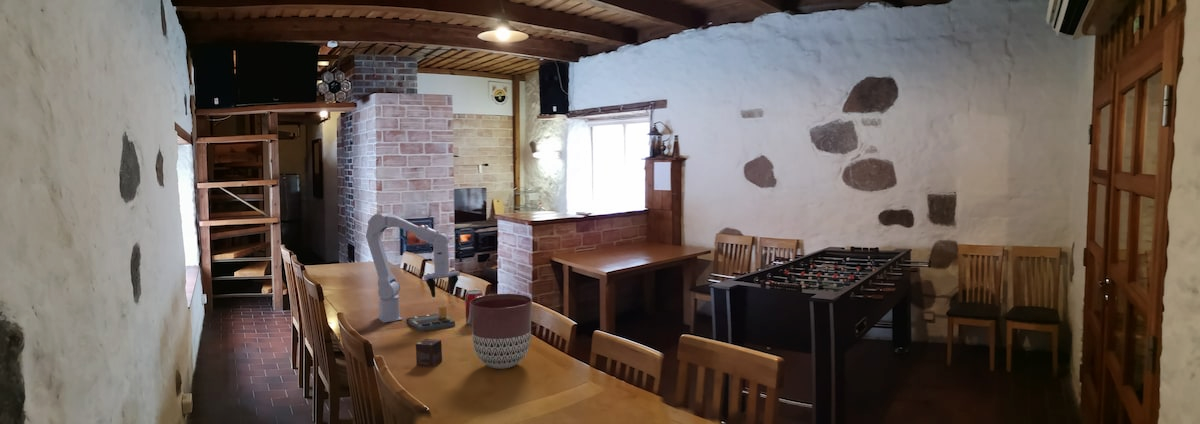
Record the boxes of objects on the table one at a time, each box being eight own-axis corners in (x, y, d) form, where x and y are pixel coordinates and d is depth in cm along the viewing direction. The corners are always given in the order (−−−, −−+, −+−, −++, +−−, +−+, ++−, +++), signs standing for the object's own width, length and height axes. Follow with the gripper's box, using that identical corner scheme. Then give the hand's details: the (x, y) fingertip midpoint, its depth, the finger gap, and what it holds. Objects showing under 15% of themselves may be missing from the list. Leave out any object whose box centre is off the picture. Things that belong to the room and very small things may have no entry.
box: (442, 361, 207) (442, 339, 207) (432, 367, 202) (431, 345, 201) (426, 359, 209) (426, 338, 209) (415, 365, 204) (415, 343, 203)
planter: (515, 380, 190) (513, 310, 188) (459, 372, 197) (457, 305, 195) (543, 359, 208) (542, 296, 206) (491, 353, 215) (489, 291, 213)
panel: (408, 323, 253) (408, 317, 252) (442, 318, 260) (442, 312, 260) (420, 332, 241) (419, 325, 241) (455, 326, 249) (454, 319, 249)
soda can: (486, 321, 256) (485, 289, 255) (481, 326, 249) (480, 293, 247) (469, 321, 257) (468, 289, 255) (463, 325, 249) (462, 293, 248)
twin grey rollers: (405, 321, 256) (405, 317, 256) (436, 316, 263) (436, 313, 263) (408, 323, 253) (408, 319, 253) (439, 318, 260) (439, 314, 260)
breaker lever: (438, 316, 254) (438, 306, 253) (443, 316, 255) (443, 305, 254) (441, 318, 251) (441, 307, 251) (446, 317, 252) (446, 307, 252)
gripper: (427, 266, 250) (428, 299, 251) (462, 262, 258) (463, 294, 259) (421, 263, 256) (422, 296, 257) (455, 259, 264) (456, 291, 265)
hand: (442, 295), depth 259 cm, fingers open, 7 cm apart
